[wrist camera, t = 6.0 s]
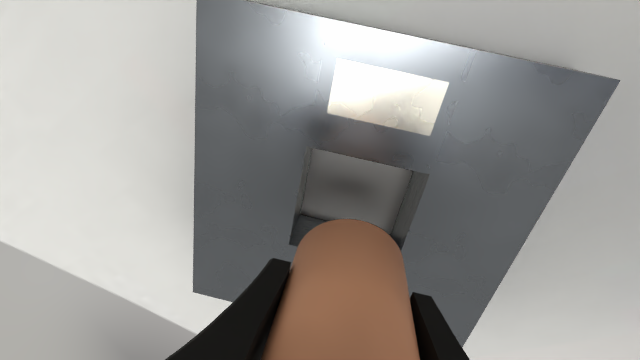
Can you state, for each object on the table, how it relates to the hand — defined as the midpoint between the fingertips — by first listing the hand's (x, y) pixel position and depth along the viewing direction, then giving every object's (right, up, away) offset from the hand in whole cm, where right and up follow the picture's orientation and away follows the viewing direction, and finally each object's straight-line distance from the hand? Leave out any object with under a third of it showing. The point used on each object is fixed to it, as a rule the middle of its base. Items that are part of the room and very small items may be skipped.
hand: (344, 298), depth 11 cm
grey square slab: (+1, +4, +8) cm, 8 cm away
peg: (0, +1, +1) cm, 2 cm away
